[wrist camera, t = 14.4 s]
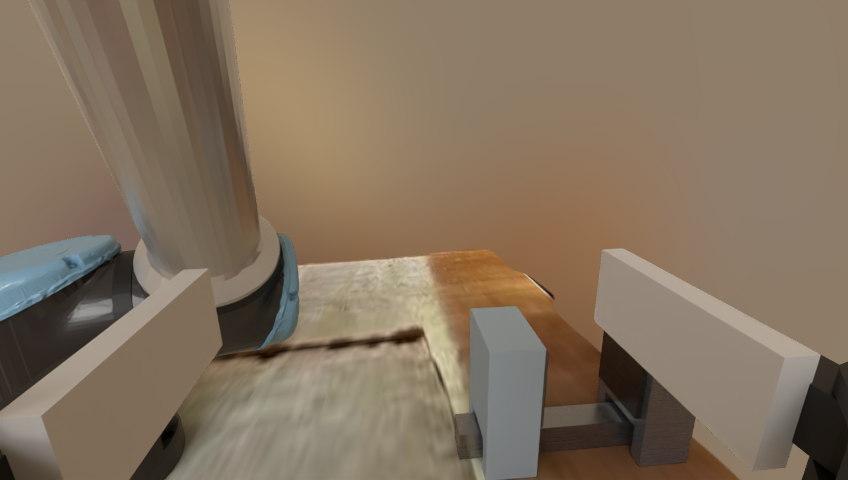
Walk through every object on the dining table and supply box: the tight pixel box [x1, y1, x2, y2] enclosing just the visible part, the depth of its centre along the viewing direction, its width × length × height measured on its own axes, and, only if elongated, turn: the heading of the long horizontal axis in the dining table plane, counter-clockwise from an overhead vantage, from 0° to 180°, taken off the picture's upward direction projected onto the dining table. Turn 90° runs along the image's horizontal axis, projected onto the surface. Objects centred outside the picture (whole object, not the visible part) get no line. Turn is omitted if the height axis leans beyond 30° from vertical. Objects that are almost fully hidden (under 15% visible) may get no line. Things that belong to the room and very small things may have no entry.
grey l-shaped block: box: [455, 331, 696, 467], centre depth 42 cm, size 22×9×14 cm, turn 95°
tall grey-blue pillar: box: [469, 306, 549, 480], centre depth 41 cm, size 9×6×14 cm, turn 5°
